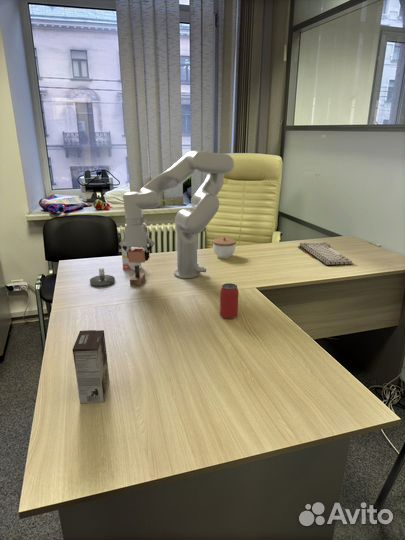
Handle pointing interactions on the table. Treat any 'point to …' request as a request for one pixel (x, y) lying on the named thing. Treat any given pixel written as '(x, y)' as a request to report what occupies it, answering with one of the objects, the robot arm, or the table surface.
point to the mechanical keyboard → (324, 254)
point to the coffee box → (91, 366)
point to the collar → (136, 255)
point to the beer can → (229, 301)
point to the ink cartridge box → (126, 263)
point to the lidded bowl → (224, 247)
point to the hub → (102, 279)
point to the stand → (137, 277)
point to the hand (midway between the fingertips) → (138, 259)
